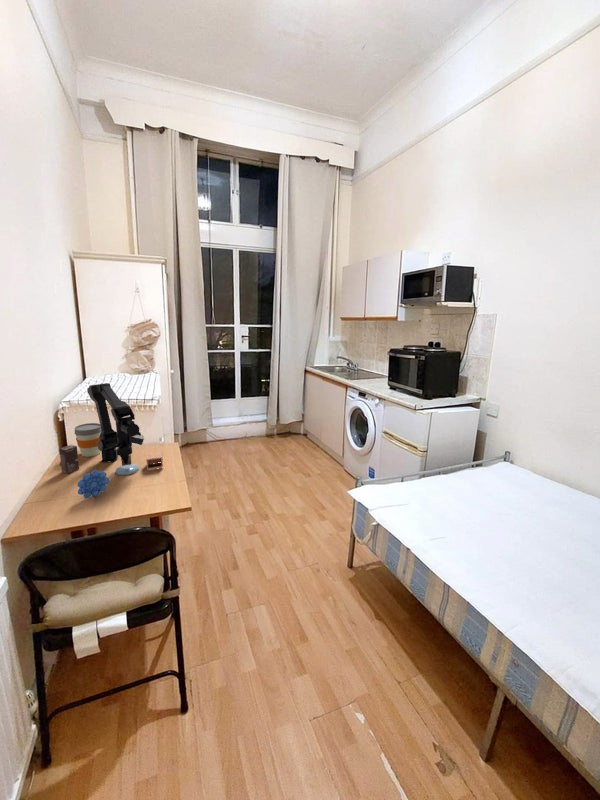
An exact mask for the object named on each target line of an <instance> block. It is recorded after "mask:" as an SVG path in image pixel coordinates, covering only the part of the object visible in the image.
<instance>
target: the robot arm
mask: <svg viewBox="0 0 600 800" xmlns="http://www.w3.org/2000/svg"><path fill="white" fill-rule="evenodd" d="M86 392H87V395H89V399H91V401H93V402H94V404H95V408H96V413H97V416H98V420H99V424H100V426H101V430H102V431H101V434H100V436H99V438H100V441H99V443H98V445H97V446H98V449H99V450H100V451H101V453H100V454H101V459H102V460H101V461H100V462H101V463H109V462H110V463H111V462H116V461H117V460H118V457H120V459H121V458H122V460H123V461H124V463H125V464H127V463H128V457H129V454H131V455H132V454H133V447H132V446H133V444H135V445H139V446H143V443H144V440H145V437H144V435H142V433H141V431H140V426H139V425H138V424H137V423H135V421H134V420H136V417H135V416H136V415H135V413H134V412H133V409H132V407H131V406H130V405H129V404H128V403H127V402H126V401H123V400H121V399H120V398H119V397H118V395H117V393H116V392H115V391H114V389H113V388H112V387H111V383H108V382H105V383H97V384H90V385H89V387H87V391H86ZM107 403H108V404H109V407H110V408H111V409H110V412H111V416H112V418H113V420H114V421H115V428H116V431H115V430H114V429H113V427H112V423H111V419H110V414H109V410H108V406H107V405H108V404H107Z"/></svg>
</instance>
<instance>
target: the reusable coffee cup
mask: <svg viewBox="0 0 600 800" xmlns="http://www.w3.org/2000/svg"><path fill="white" fill-rule="evenodd" d="M101 431H102V430H101V426H100V423H97V422H90V423H89V422H87V423H83V424H79V425H77V426H75V427H74V435H75V437H76V438H75V440H76V443H77V448H79V451H80V454H81V456H82V457H93V456H97V454H98V455H99V453H100V454H102V453H101V451H100V450H99V449H98V446H97V445H98V443H99V441H100V438H99V436H100V434H101Z"/></svg>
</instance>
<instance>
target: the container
mask: <svg viewBox="0 0 600 800" xmlns="http://www.w3.org/2000/svg"><path fill="white" fill-rule="evenodd" d="M145 458H146V459H145V461H146V469H147V470H149V471H153V470H152V469H156V470H158V469H157V468H162V467H163V468H164V463H163V462H164V461H163V454H162V451H158V452H150V453H146V454H145ZM158 462H161V463H160V465H158V466H153V467H152V466H151V467H149V465H148V464H152V465H154V464H153V463H158Z"/></svg>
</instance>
